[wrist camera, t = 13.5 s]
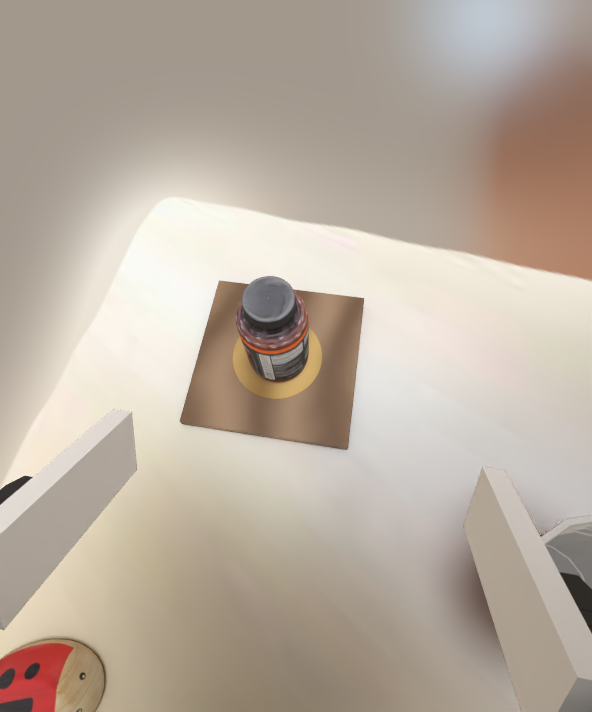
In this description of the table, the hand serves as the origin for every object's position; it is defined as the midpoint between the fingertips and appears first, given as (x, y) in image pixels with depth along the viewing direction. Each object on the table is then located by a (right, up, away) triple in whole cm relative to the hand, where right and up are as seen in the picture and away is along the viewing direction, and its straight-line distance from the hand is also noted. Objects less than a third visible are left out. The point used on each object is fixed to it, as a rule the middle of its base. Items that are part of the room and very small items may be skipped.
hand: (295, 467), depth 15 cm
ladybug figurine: (-19, -22, +16) cm, 33 cm away
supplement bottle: (-2, +4, +25) cm, 25 cm away
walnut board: (-2, +4, +26) cm, 26 cm away
